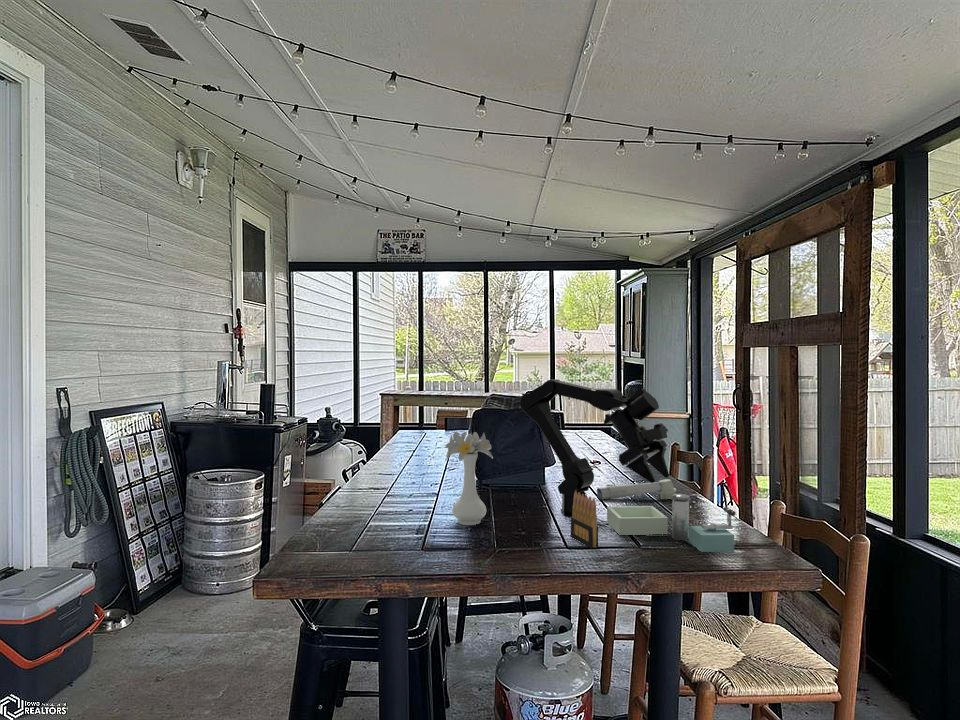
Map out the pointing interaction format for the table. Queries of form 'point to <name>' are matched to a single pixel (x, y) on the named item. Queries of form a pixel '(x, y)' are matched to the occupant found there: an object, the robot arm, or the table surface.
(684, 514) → the pin
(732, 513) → the crank handle
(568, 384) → the robot arm
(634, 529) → the tray
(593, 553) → the table surface
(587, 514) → the ammunition clip
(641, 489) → the grey mallet
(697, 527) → the crank block
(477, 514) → the flower vase
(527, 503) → the table surface
